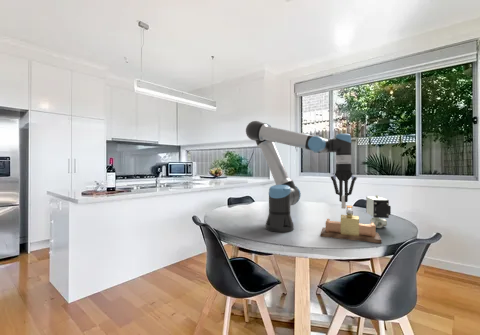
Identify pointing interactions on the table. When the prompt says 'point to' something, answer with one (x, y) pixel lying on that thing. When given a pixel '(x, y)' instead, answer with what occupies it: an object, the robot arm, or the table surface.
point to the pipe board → (350, 237)
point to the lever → (349, 210)
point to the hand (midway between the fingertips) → (343, 208)
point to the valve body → (350, 226)
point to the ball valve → (378, 210)
